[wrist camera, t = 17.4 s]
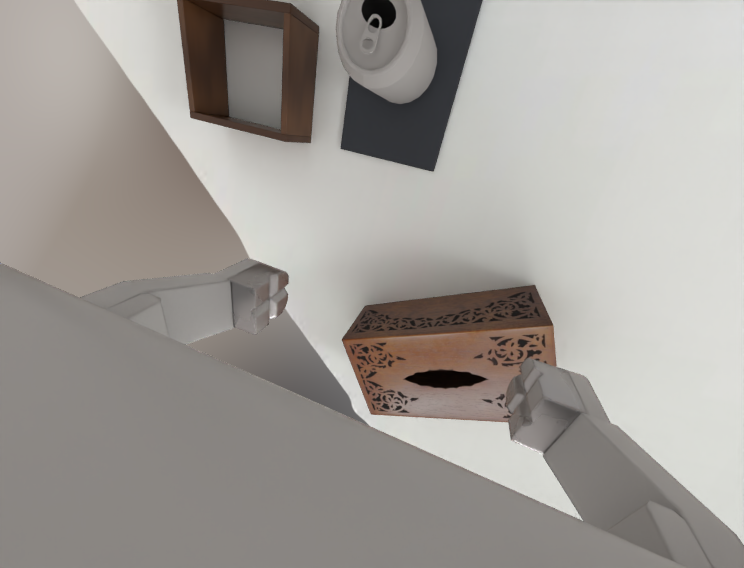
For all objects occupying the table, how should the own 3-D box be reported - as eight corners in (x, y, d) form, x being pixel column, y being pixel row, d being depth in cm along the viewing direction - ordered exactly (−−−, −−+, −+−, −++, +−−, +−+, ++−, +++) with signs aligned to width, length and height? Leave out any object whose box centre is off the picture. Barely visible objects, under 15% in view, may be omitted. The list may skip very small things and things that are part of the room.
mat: (368, -66, 28) (367, -69, 28) (498, -55, 25) (498, -58, 25) (341, 148, 38) (340, 148, 37) (433, 171, 35) (433, 171, 35)
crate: (218, 10, 35) (175, -14, 30) (319, 26, 32) (290, 2, 27) (225, 121, 41) (190, 117, 36) (310, 143, 39) (286, 141, 34)
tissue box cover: (387, 371, 52) (370, 414, 44) (365, 305, 48) (341, 339, 39) (543, 369, 42) (561, 425, 33) (534, 285, 37) (553, 325, 29)
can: (450, 36, 29) (438, -26, 19) (420, 114, 33) (396, 99, 22) (387, 12, 30) (342, -60, 19) (365, 91, 33) (317, 66, 23)
